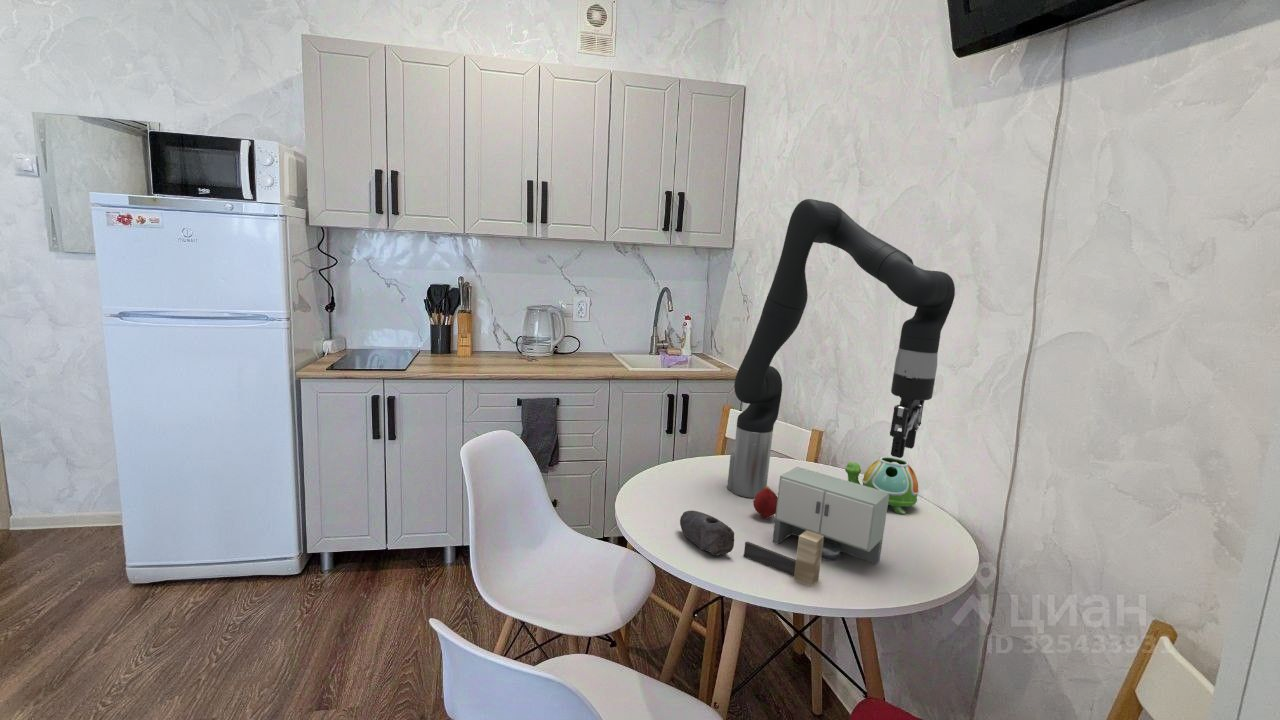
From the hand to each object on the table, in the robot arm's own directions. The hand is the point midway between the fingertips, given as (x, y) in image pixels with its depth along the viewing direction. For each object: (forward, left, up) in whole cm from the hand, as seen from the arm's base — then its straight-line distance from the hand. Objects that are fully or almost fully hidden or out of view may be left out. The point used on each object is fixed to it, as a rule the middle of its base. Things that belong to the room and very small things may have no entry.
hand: (902, 451), depth 124 cm
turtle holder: (-11, +32, -24) cm, 42 cm away
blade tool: (-15, -20, -24) cm, 34 cm away
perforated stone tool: (-31, -22, -24) cm, 45 cm away
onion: (-28, 0, -24) cm, 37 cm away
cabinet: (-11, -6, -24) cm, 27 cm away
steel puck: (-10, -6, -24) cm, 27 cm away
